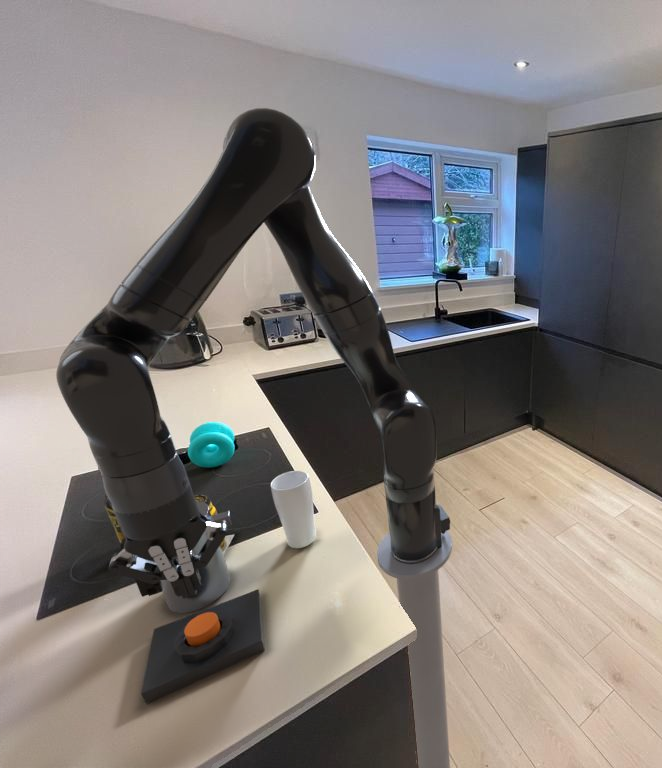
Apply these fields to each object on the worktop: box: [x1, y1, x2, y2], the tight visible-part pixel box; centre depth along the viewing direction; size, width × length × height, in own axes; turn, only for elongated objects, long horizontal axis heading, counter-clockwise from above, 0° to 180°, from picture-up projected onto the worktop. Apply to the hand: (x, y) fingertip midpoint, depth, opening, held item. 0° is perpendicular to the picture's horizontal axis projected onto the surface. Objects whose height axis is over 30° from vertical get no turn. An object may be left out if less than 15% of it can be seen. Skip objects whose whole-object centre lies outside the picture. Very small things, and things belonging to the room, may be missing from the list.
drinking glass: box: [269, 470, 317, 549], centre depth 80 cm, size 7×7×15 cm
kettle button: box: [184, 612, 221, 646], centre depth 60 cm, size 4×4×2 cm
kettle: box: [119, 501, 233, 614], centre depth 68 cm, size 14×9×17 cm, turn 123°
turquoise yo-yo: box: [187, 421, 235, 468], centre depth 109 cm, size 10×10×10 cm
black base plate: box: [140, 589, 266, 705], centre depth 61 cm, size 14×11×4 cm
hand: (190, 592), depth 57 cm, fingers closed
